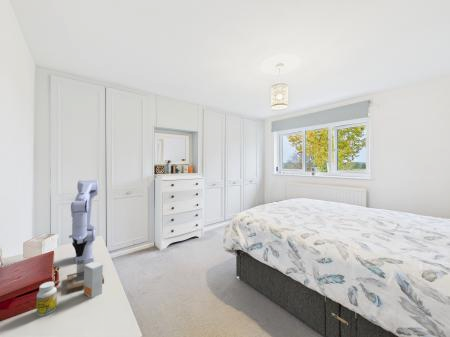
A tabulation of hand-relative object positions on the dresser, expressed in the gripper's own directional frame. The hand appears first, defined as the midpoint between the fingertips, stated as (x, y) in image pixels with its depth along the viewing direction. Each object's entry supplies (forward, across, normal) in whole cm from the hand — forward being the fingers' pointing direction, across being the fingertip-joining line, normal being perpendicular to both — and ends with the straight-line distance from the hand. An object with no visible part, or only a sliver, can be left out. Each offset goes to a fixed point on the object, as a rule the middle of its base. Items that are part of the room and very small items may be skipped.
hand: (79, 253), depth 96 cm
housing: (+7, +10, +2) cm, 13 cm away
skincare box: (+10, +22, +4) cm, 24 cm away
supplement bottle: (+10, +24, -10) cm, 28 cm away
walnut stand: (+9, +10, +2) cm, 14 cm away
